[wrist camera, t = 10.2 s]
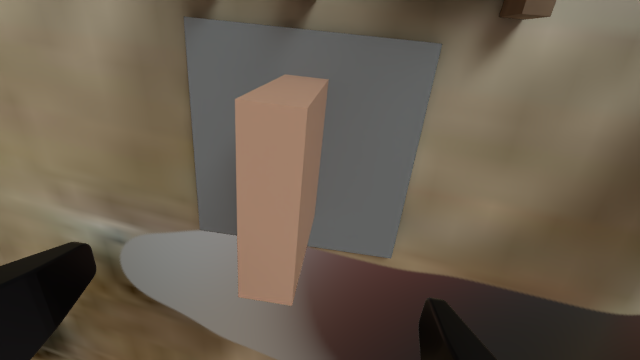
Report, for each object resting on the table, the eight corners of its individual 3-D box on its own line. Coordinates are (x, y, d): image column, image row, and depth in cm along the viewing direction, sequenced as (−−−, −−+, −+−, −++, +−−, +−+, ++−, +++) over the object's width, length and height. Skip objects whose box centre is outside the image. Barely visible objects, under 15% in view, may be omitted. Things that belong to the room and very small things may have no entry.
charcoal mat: (440, 43, 17) (442, 43, 16) (390, 254, 23) (391, 258, 22) (188, 17, 18) (183, 16, 17) (203, 226, 24) (200, 230, 23)
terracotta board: (328, 79, 18) (307, 107, 11) (314, 215, 22) (291, 305, 14) (285, 74, 18) (234, 99, 11) (278, 210, 22) (238, 297, 14)
